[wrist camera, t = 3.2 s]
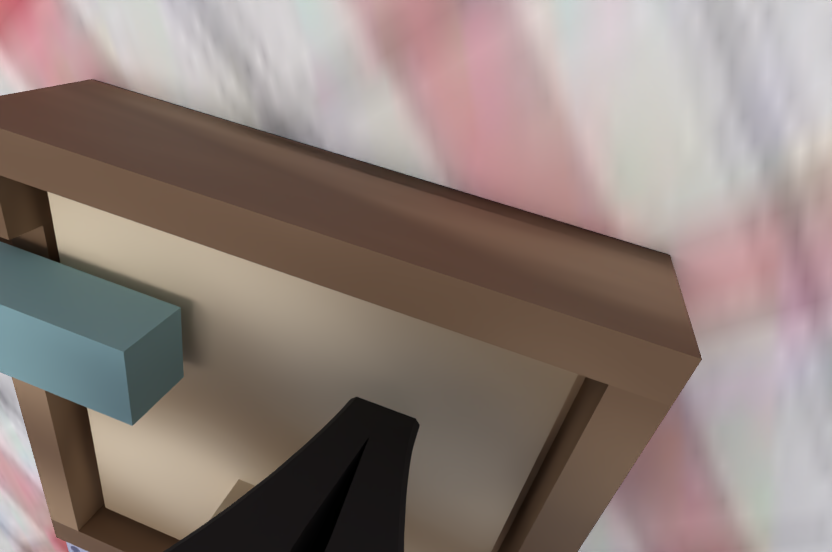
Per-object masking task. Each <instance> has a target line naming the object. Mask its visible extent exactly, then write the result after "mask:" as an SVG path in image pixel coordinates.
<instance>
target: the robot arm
mask: <svg viewBox="0 0 832 552" xmlns="http://www.w3.org/2000/svg"><path fill="white" fill-rule="evenodd" d="M419 427H420V424H419V423H418V421H417V420H416V418H413V417H410V416H408V415H405V414H402V413H400V412H397V411H394V410H392V409H389V408H386V407H384V406H381V405H378V404H376V403H373V402H370V401H367V400H365V399H362V398H359V397H354V398H351V399H350V400H349V401H348V402H347V403H346V405H345V406H344V407H343V408H342V409H341V410H340V411H339V412H338V413H337V414H336V415H335V416H334V417H333V418H332V419H331V420H330V421H329V422H328V423H327V424H326V425H325V426H324V427H323V428H322V429H321V430H320V431H319V432H318V433H317V434H316V435H315V436H314V437H313V438H311V439H310V440H309V441H308V442H307V443H306V444H305V445H304V446H303V447H302V448H300V449H299V450H298V451H297V452H296V453H295V454H293V455H292V456H291V457H290V458H289V459H288V460H286V461H285V462H284V463H283V464H282V465H281V466H279V467H278V468H277V469H276V470H275V471H274V472H272V473H271V474H270V475H269V476H267V477H266V478H265V479H264V480H262V481H261V482H260V483H259V484H257V485H256V486H255V487H253V488H252V489H251V490H249V491H248V492H247V493H246V494H244V495H243V496H242V497H240V498H239V499H238V500H237V501H235V502H234V503H233V504H231V505H230V506H229V507H227V508H226V509H225V510H223V511H222V512H220V513H219V514H218V515H216V516H215V517H214V518H212V519H211V520H209V521H208V522H206V523H205V524H204V525H202V526H201V527H199V528H198V529H196V530H195V531H193V532H192V533H190V534H189V535H187V536H186V537H184V538H183V539H181V540H180V541H178V542H177V543H175V544H174V545H172V546H171V547H169V548H168V549H166V550H165V551H163V552H404V532H405V513H406V496H407V485H408V477H409V469H410V462H411V456H412V451H413V447H414V443H415V440H416V437H417V433H418V430H419ZM66 543H67V546H68V550H69V552H88V551H86V550H84V549H81V548H79V547H77V546H75V545H73V544H70V543H68V542H66Z"/></svg>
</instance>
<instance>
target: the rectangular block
mask: <svg viewBox="0 0 832 552" xmlns="http://www.w3.org/2000/svg"><path fill="white" fill-rule="evenodd" d="M0 372H1V373H3V374H6V375H8V376H11V377H13V378H16V379H18V380H21V381H23V382H26V383H28V384H30V385H33V386H35V387H38V388H40V389H43V390H45V391H48V392H50V393H53V394H55V395H58V396H60V397H62V398H65V399H67V400H70V401H72V402H75V403H77V404H80V405H82V406H85V407H87V408H89V409H92V410H94V411H97V412H99V413H102V414H104V415H107V416H109V417H112V418H114V419H116V420H119V421H121V422H124V423H126V424H129V425H131V426H133V425H134V424H135V423H136V422H137V421H138V420H139V419H140V418H141V417H142V416H144V415H145V414H146V413H147V412H148V411H149V410H150V409H151V408H152V407H153V406H154V405H155V404H156V403H157V402H158V401H159V400H160V399H161V398H162V397H163V396H164V395H165V394H167V393H168V392H169V391H170V390H171V389H172V388H173V387H174V386H175V385H176V384H177V383H178V382H179V381H180V380H181V379H182V378H183V377H184V371H183V349H182V326H181V307H178V306H176V305H173V304H170V303H167V302H165V301H162V300H159V299H157V298H154V297H151V296H148V295H146V294H143V293H140V292H137V291H135V290H132V289H129V288H126V287H124V286H121V285H118V284H115V283H113V282H110V281H107V280H104V279H102V278H99V277H96V276H94V275H91V274H88V273H85V272H83V271H80V270H77V269H74V268H72V267H69V266H66V265H63V264H61V263H58V262H55V261H52V260H50V259H47V258H44V257H42V256H39V255H36V254H33V253H31V252H28V251H25V250H22V249H20V248H17V247H14V246H11V245H9V244H6V243H3V242H0Z"/></svg>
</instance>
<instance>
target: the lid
mask: <svg viewBox="0 0 832 552" xmlns="http://www.w3.org/2000/svg"><path fill="white" fill-rule="evenodd" d="M47 193H48V198H49V204H50V209H51V214H52V220H53V225H54V231H55V236H56V242H57V247H58V252H59V258H60V263H61V264H63V265H66V266H69V267H72V268H74V269H77V270H80V271H83V272H85V273H88V274H91V275H94V276H96V277H99V278H102V279H104V280H107V281H110V282H113V283H115V284H118V285H121V286H124V287H126V288H129V289H132V290H135V291H137V292H140V293H143V294H146V295H148V296H151V297H154V298H157V299H159V300H162V301H165V302H167V303H170V304H173V305H176V306H178V307H181V326H182V349H183V371H184V377H183V378H182V379H181V380H180V381H179V382H178V383H177V384H176V385H175V386H174V387H173V388H172V389H171V390H170V391H169V392H168V393H167V394H165V395H164V396H163V397H162V398H161V399H160V400H159V401H158V402H157V403H156V404H155V405H154V406H153V407H152V408H151V409H150V410H149V411H148V412H147V413H146V414H145V415H144V416H142V417H141V418H140V419H139V420H138V421H137V422H136V423H135V424H134V425H133V426H131V425H129V424H126V423H124V422H121V421H119V420H116V419H114V418H112V417H109V416H107V415H104V414H102V413H99V412H97V411H94V410H92V409H89V408H87V410H88V416H89V421H90V426H91V432H92V437H93V443H94V448H95V454H96V459H97V465H98V470H99V475H100V481H101V486H102V492H103V497H104V503H105V508H107V509H110V510H112V511H114V512H117V513H119V514H121V515H123V516H126V517H128V518H130V519H133V520H135V521H137V522H140V523H142V524H144V525H146V526H149V527H151V528H153V529H156V530H158V531H160V532H162V533H165V534H167V535H169V536H172V537H174V538H176V539H179V540H181V539H183V538H184V537H186V536H187V535H189V534H190V533H192V532H193V531H195V530H196V529H198V528H199V527H201V526H202V525H204V524H205V523H206V522H208V521H209V520H211V519H212V518H214V517H215V516H216V515H218V514H219V513H220V512H222V511H223V510H225V509H226V508H227V507H229V506H230V505H231V504H233V503H234V502H235V501H237V500H238V499H239V498H240V497H242V496H243V495H244V494H246V493H247V492H248V491H249V490H251V489H252V488H253V487H255V486H256V485H257V484H259V483H260V482H261V481H262V480H264V479H265V478H266V477H267V476H269V475H270V474H271V473H272V472H274V471H275V470H276V469H277V468H278V467H279V466H281V465H282V464H283V463H284V462H285V461H286V460H288V459H289V458H290V457H291V456H292V455H293V454H295V453H296V452H297V451H298V450H299V449H300V448H302V447H303V446H304V445H305V444H306V443H307V442H308V441H309V440H310V439H311V438H313V437H314V436H315V435H316V434H317V433H318V432H319V431H320V430H321V429H322V428H323V427H324V426H325V425H326V424H327V423H328V422H329V421H330V420H331V419H332V418H333V417H334V416H335V415H336V414H337V413H338V412H339V411H340V410H341V409H342V408H343V407H344V406H345V405H346V403H347V402H348V401H349V400H350V399H351V398H354V397H359V398H362V399H365V400H367V401H370V402H373V403H376V404H378V405H381V406H384V407H386V408H389V409H392V410H394V411H397V412H400V413H402V414H405V415H408V416H410V417H413V418H416V420H417V421H418V423H419V424H420V427H419V430H418V433H417V437H416V440H415V443H414V447H413V451H412V456H411V462H410V469H409V477H408V485H407V496H406V513H405V532H404V552H491V551H492V549H493V547H494V545H495V543H496V541H497V539H498V537H499V535H500V533H501V531H502V529H503V527H504V524H505V522H506V520H507V518H508V516H509V514H510V512H511V510H512V508H513V506H514V504H515V502H516V500H517V498H518V496H519V494H520V492H521V490H522V488H523V486H524V484H525V482H526V480H527V478H528V476H529V474H530V472H531V470H532V468H533V466H534V463H535V461H536V459H537V457H538V455H539V453H540V451H541V449H542V447H543V445H544V443H545V441H546V439H547V437H548V435H549V433H550V431H551V429H552V427H553V425H554V423H555V421H556V419H557V417H558V415H559V413H560V411H561V409H562V407H563V404H564V402H565V400H566V398H567V396H568V394H569V392H570V390H571V388H572V386H573V384H574V382H575V380H576V378H577V376H578V374H576V373H573V372H570V371H567V370H564V369H561V368H559V367H556V366H553V365H550V364H547V363H544V362H541V361H538V360H535V359H532V358H529V357H527V356H524V355H521V354H518V353H515V352H512V351H509V350H506V349H503V348H500V347H497V346H495V345H492V344H489V343H486V342H483V341H480V340H477V339H474V338H471V337H468V336H466V335H463V334H460V333H457V332H454V331H451V330H448V329H445V328H442V327H439V326H436V325H434V324H431V323H428V322H425V321H422V320H419V319H416V318H413V317H410V316H407V315H404V314H402V313H399V312H396V311H393V310H390V309H387V308H384V307H381V306H378V305H375V304H373V303H370V302H367V301H364V300H361V299H358V298H355V297H352V296H349V295H346V294H343V293H341V292H338V291H335V290H332V289H329V288H326V287H323V286H320V285H317V284H314V283H311V282H309V281H306V280H303V279H300V278H297V277H294V276H291V275H288V274H285V273H282V272H280V271H277V270H274V269H271V268H268V267H265V266H262V265H259V264H256V263H253V262H250V261H248V260H245V259H242V258H239V257H236V256H233V255H230V254H227V253H224V252H221V251H218V250H216V249H213V248H210V247H207V246H204V245H201V244H198V243H195V242H192V241H189V240H186V239H184V238H181V237H178V236H175V235H172V234H169V233H166V232H163V231H160V230H157V229H155V228H152V227H149V226H146V225H143V224H140V223H137V222H134V221H131V220H128V219H125V218H123V217H120V216H117V215H114V214H111V213H108V212H105V211H102V210H99V209H96V208H93V207H91V206H88V205H85V204H82V203H79V202H76V201H73V200H70V199H67V198H64V197H62V196H59V195H56V194H53V193H50V192H47Z"/></svg>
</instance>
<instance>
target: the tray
mask: <svg viewBox="0 0 832 552" xmlns="http://www.w3.org/2000/svg"><path fill="white" fill-rule="evenodd" d="M47 192H50V193H53V194H56V195H59V196H62V197H64V198H67V199H70V200H73V201H76V202H79V203H82V204H85V205H88V206H91V207H93V208H96V209H99V210H102V211H105V212H108V213H111V214H114V215H117V216H120V217H123V218H125V219H128V220H131V221H134V222H137V223H140V224H143V225H146V226H149V227H152V228H155V229H157V230H160V231H163V232H166V233H169V234H172V235H175V236H178V237H181V238H184V239H186V240H189V241H192V242H195V243H198V244H201V245H204V246H207V247H210V248H213V249H216V250H218V251H221V252H224V253H227V254H230V255H233V256H236V257H239V258H242V259H245V260H248V261H250V262H253V263H256V264H259V265H262V266H265V267H268V268H271V269H274V270H277V271H280V272H282V273H285V274H288V275H291V276H294V277H297V278H300V279H303V280H306V281H309V282H311V283H314V284H317V285H320V286H323V287H326V288H329V289H332V290H335V291H338V292H341V293H343V294H346V295H349V296H352V297H355V298H358V299H361V300H364V301H367V302H370V303H373V304H375V305H378V306H381V307H384V308H387V309H390V310H393V311H396V312H399V313H402V314H404V315H407V316H410V317H413V318H416V319H419V320H422V321H425V322H428V323H431V324H434V325H436V326H439V327H442V328H445V329H448V330H451V331H454V332H457V333H460V334H463V335H466V336H468V337H471V338H474V339H477V340H480V341H483V342H486V343H489V344H492V345H495V346H497V347H500V348H503V349H506V350H509V351H512V352H515V353H518V354H521V355H524V356H527V357H529V358H532V359H535V360H538V361H541V362H544V363H547V364H550V365H553V366H556V367H559V368H561V369H564V370H567V371H570V372H573V373H576V374H578V376H577V378H576V380H575V382H574V384H573V386H572V388H571V390H570V392H569V394H568V396H567V398H566V400H565V402H564V404H563V407H562V409H561V411H560V413H559V415H558V417H557V419H556V421H555V423H554V425H553V427H552V429H551V431H550V433H549V435H548V437H547V439H546V441H545V443H544V445H543V447H542V449H541V451H540V453H539V455H538V457H537V459H536V461H535V463H534V466H533V468H532V470H531V472H530V474H529V476H528V478H527V480H526V482H525V484H524V486H523V488H522V490H521V492H520V494H519V496H518V498H517V500H516V502H515V504H514V506H513V508H512V510H511V512H510V514H509V516H508V518H507V520H506V522H505V524H504V527H503V529H502V531H501V533H500V535H499V537H498V539H497V541H496V543H495V545H494V547H493V549H492V551H491V552H578V550H579V549H580V547H581V545H582V544H583V542H584V541H585V539H586V538H587V536H588V535H589V533H590V531H591V530H592V528H593V527H594V525H595V524H596V522H597V521H598V519H599V518H600V516H601V514H602V513H603V511H604V510H605V508H606V507H607V505H608V504H609V502H610V501H611V499H612V497H613V496H614V494H615V493H616V491H617V490H618V488H619V487H620V485H621V484H622V482H623V480H624V479H625V477H626V476H627V474H628V473H629V471H630V470H631V468H632V466H633V465H634V463H635V462H636V460H637V459H638V457H639V456H640V454H641V453H642V451H643V449H644V448H645V446H646V445H647V443H648V442H649V440H650V439H651V437H652V436H653V434H654V432H655V431H656V429H657V428H658V426H659V425H660V423H661V422H662V420H663V419H664V417H665V415H666V414H667V412H668V411H669V409H670V408H671V406H672V405H673V403H674V401H675V400H676V398H677V397H678V395H679V394H680V392H681V391H682V389H683V388H684V386H685V384H686V383H687V381H688V380H689V378H690V377H691V375H692V374H693V372H694V371H695V369H696V367H697V366H698V364H699V363H700V361H701V360H702V358H701V355H700V352H699V348H698V345H697V342H696V338H695V335H694V332H693V329H692V325H691V322H690V319H689V316H688V312H687V309H686V306H685V303H684V299H683V296H682V293H681V289H680V286H679V283H678V280H677V276H676V273H675V270H674V267H673V263H672V260H671V257H670V255H667V254H664V253H661V252H657V251H654V250H651V249H647V248H644V247H641V246H638V245H634V244H631V243H628V242H624V241H621V240H618V239H615V238H611V237H608V236H605V235H601V234H598V233H595V232H592V231H588V230H585V229H582V228H578V227H575V226H572V225H569V224H565V223H562V222H559V221H555V220H552V219H549V218H546V217H542V216H539V215H536V214H532V213H529V212H526V211H523V210H519V209H516V208H513V207H509V206H506V205H503V204H500V203H496V202H493V201H490V200H486V199H483V198H480V197H477V196H473V195H470V194H467V193H463V192H460V191H457V190H454V189H450V188H447V187H444V186H440V185H437V184H434V183H431V182H427V181H424V180H421V179H417V178H414V177H411V176H408V175H404V174H401V173H398V172H394V171H391V170H388V169H385V168H381V167H378V166H375V165H371V164H368V163H365V162H362V161H358V160H355V159H352V158H348V157H345V156H342V155H339V154H335V153H332V152H329V151H325V150H322V149H319V148H316V147H312V146H309V145H306V144H302V143H299V142H296V141H293V140H289V139H286V138H283V137H279V136H276V135H273V134H270V133H266V132H263V131H260V130H256V129H253V128H250V127H247V126H243V125H240V124H237V123H233V122H230V121H227V120H224V119H220V118H217V117H214V116H210V115H207V114H204V113H201V112H197V111H194V110H191V109H187V108H184V107H181V106H178V105H174V104H171V103H168V102H164V101H161V100H158V99H155V98H151V97H148V96H145V95H141V94H138V93H135V92H132V91H128V90H125V89H122V88H118V87H115V86H112V85H109V84H105V83H102V82H99V81H95V80H92V79H91V80H85V81H80V82H74V83H69V84H63V85H58V86H52V87H47V88H41V89H36V90H30V91H24V92H19V93H13V94H8V95H2V96H0V242H3V243H6V244H9V245H11V246H14V247H17V248H20V249H22V250H25V251H28V252H31V253H33V254H36V255H39V256H42V257H44V258H47V259H50V260H52V261H55V262H58V263H60V258H59V252H58V247H57V242H56V236H55V231H54V225H53V220H52V214H51V209H50V204H49V198H48V193H47ZM12 380H13V383H14V387H15V390H16V394H17V398H18V401H19V405H20V408H21V412H22V416H23V419H24V423H25V426H26V430H27V434H28V437H29V441H30V444H31V448H32V451H33V455H34V459H35V462H36V466H37V469H38V473H39V477H40V480H41V484H42V487H43V491H44V494H45V498H46V502H47V505H48V509H49V512H50V516H51V520H52V523H53V527H54V530H55V534H56V537H57V538H59V539H61V540H64V541H66V542H68V543H70V544H73V545H75V546H77V547H79V548H81V549H84V550H86V551H88V552H163V551H165V550H166V549H168V548H169V547H171V546H172V545H174V544H175V543H177V542H178V541H180V540H179V539H176V538H174V537H172V536H169V535H167V534H165V533H162V532H160V531H158V530H156V529H153V528H151V527H149V526H146V525H144V524H142V523H140V522H137V521H135V520H133V519H130V518H128V517H126V516H123V515H121V514H119V513H117V512H114V511H112V510H110V509H107V508H105V503H104V497H103V492H102V486H101V481H100V475H99V470H98V465H97V459H96V454H95V448H94V443H93V437H92V432H91V426H90V421H89V416H88V410H87V407H85V406H82V405H80V404H77V403H75V402H72V401H70V400H67V399H65V398H62V397H60V396H58V395H55V394H53V393H50V392H48V391H45V390H43V389H40V388H38V387H35V386H33V385H30V384H28V383H26V382H23V381H21V380H18V379H16V378H13V377H12Z"/></svg>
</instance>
